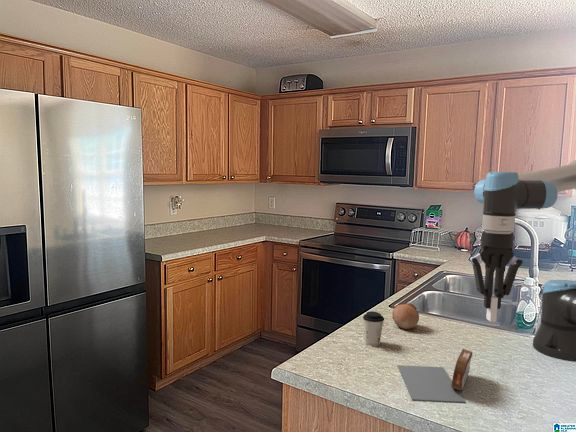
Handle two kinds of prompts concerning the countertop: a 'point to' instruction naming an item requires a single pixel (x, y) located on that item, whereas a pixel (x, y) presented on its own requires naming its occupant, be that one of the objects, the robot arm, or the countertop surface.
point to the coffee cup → (373, 327)
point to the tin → (461, 369)
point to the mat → (429, 384)
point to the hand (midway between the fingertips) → (491, 320)
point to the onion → (405, 316)
